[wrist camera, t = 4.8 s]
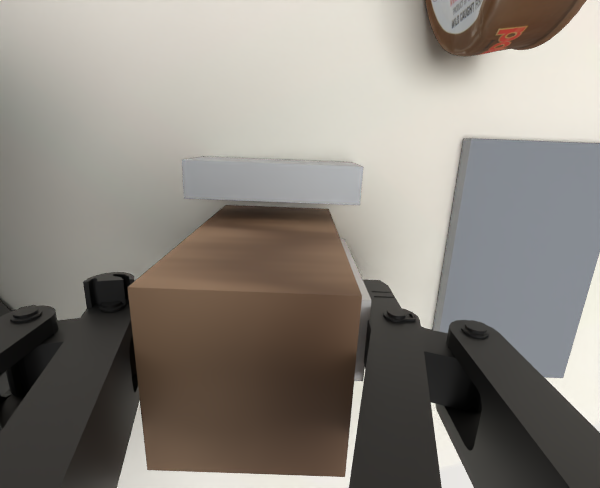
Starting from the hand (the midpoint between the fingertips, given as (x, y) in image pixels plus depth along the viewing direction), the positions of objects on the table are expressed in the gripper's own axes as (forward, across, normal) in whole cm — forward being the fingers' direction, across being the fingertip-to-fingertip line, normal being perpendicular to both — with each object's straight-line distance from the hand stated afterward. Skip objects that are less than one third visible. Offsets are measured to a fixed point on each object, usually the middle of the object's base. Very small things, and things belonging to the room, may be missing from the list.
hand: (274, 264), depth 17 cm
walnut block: (+1, 0, 0) cm, 1 cm away
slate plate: (+1, +12, 0) cm, 12 cm away
